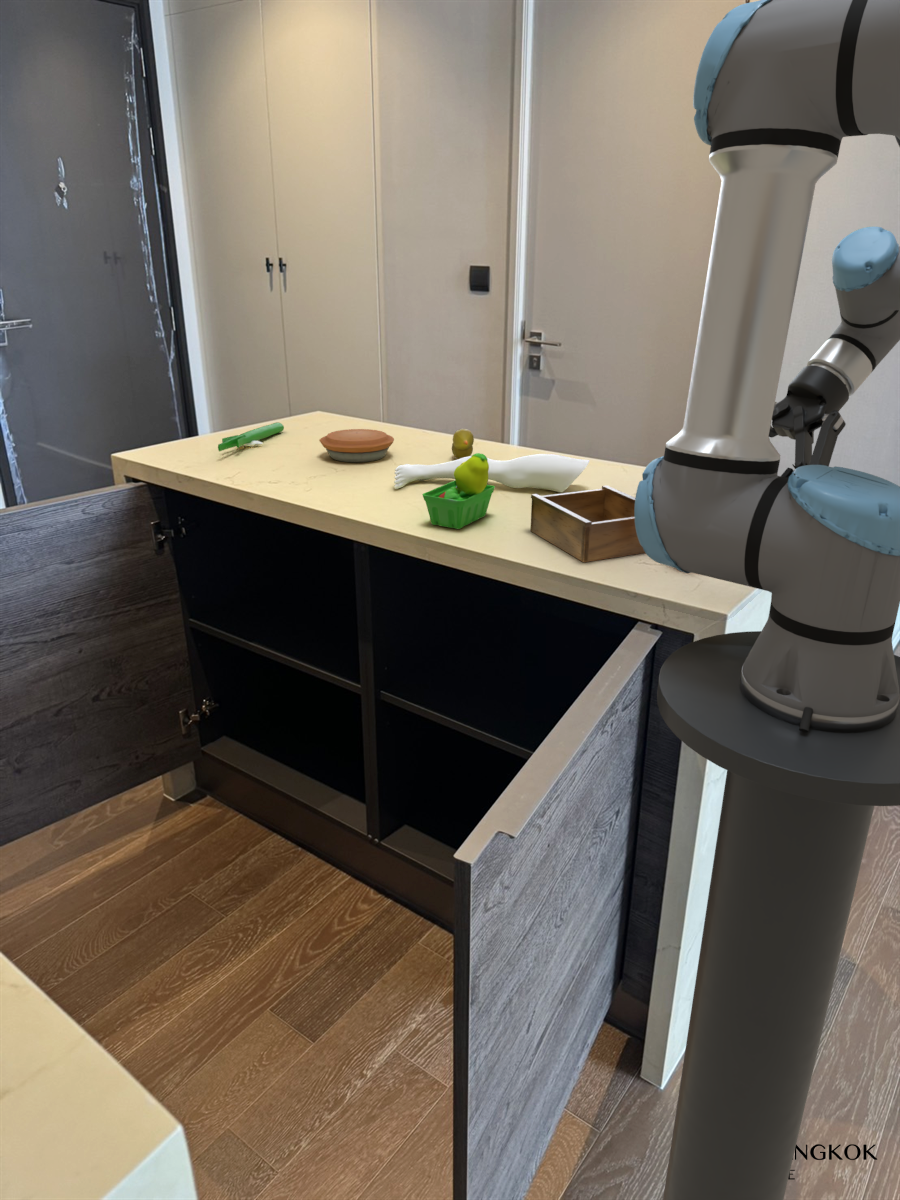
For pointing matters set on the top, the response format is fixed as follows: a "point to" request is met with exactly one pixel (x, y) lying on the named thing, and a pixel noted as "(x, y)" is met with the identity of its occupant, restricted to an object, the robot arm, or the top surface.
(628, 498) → the wooden crate
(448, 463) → the leg
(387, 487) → the top surface
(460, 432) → the bird figurine
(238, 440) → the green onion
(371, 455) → the pie
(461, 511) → the fruit basket
